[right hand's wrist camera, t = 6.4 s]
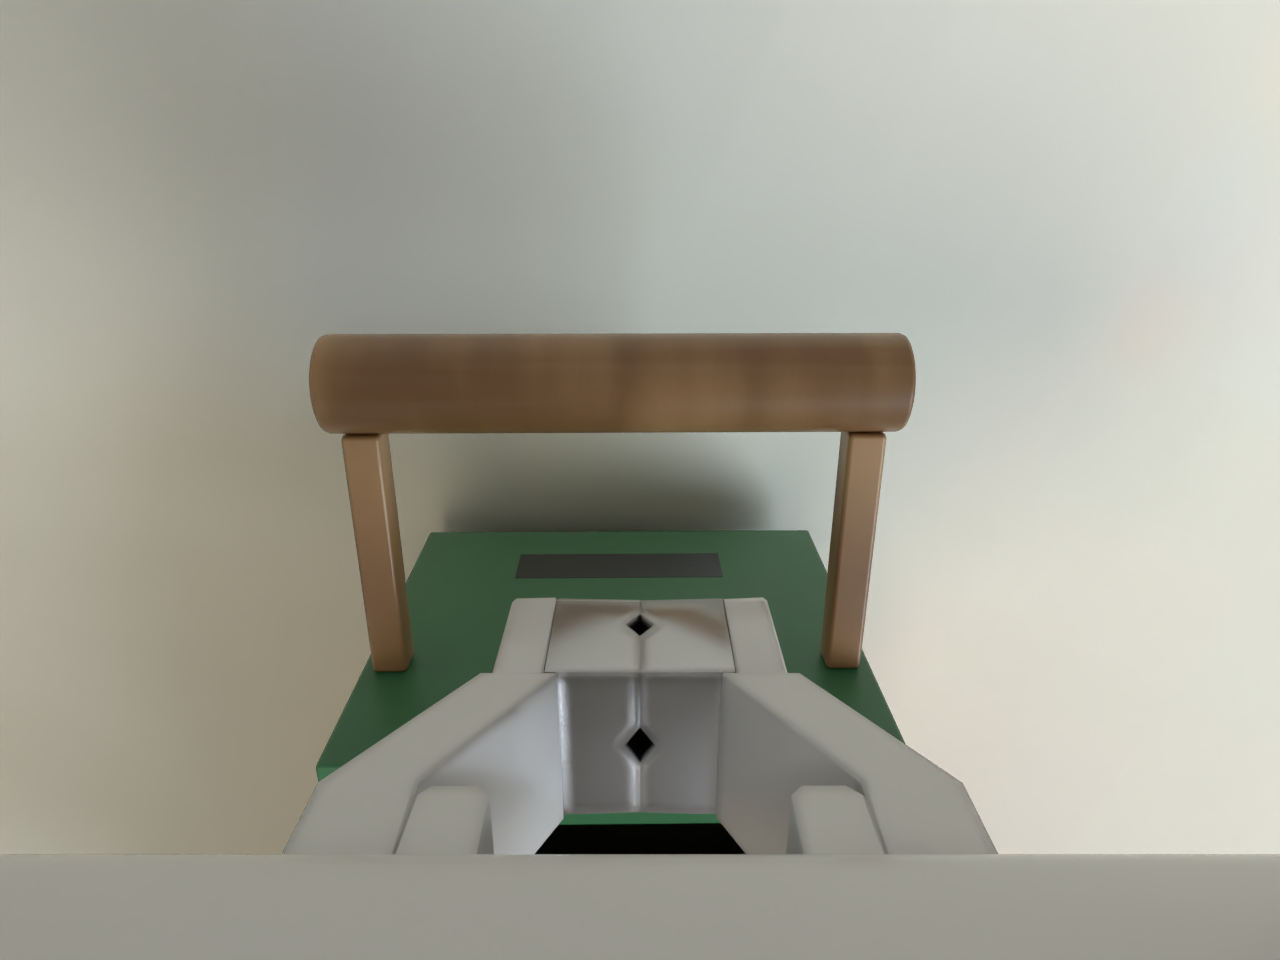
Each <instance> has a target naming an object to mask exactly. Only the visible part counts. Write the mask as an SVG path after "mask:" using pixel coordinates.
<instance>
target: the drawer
mask: <svg viewBox="0 0 1280 960" xmlns="http://www.w3.org/2000/svg"><path fill="white" fill-rule="evenodd" d="M915 385H916V371H915V361H914V355H913V351H912V347H911V344H910V342H909V340H908V339H907V337H906V336H904V335H902V334H900V333H710V334H326V335H324V336H322V337H320V338H319V339H318V340H317V342H316V344H315V346H314V348H313V352H312V356H311V362H310V371H309V386H310V396H311V402H312V406H313V411H314V414H315V417H316V419H317V421H318V423H319V425H320V427H321V428H322V429H323V430H324V431H326V432H328V433H331V434H345V435H344V436H343V437H342V440H341V441H342V448H343V455H344V463H345V470H346V477H347V484H348V491H349V498H350V505H351V513H352V520H353V527H354V534H355V541H356V548H357V555H358V563H359V570H360V577H361V584H362V591H363V598H364V605H365V613H366V620H367V627H368V634H369V641H370V648H371V655H370V657H369V659H368V661H367V663H366V665H365V668H364V670H363V672H362V674H361V676H360V678H359V680H358V682H357V684H356V686H355V688H354V690H353V692H352V694H351V696H350V698H349V700H348V702H347V704H346V706H345V708H344V710H343V712H342V714H341V716H340V718H339V720H338V723H337V725H336V727H335V729H334V731H333V733H332V735H331V737H330V739H329V741H328V743H327V745H326V747H325V749H324V751H323V753H322V755H321V757H320V759H319V761H318V763H317V766H316V771H317V776H318V782H319V781H321V780H322V779H324V778H325V777H327V776H328V775H330V774H331V773H333V772H334V771H336V770H337V769H339V768H340V767H341V766H343V765H344V764H346V763H347V762H349V761H350V760H352V759H353V758H355V757H356V756H358V755H359V754H361V753H362V752H364V751H365V750H367V749H368V748H370V747H371V746H373V745H374V744H376V743H377V742H379V741H380V740H382V739H383V738H385V737H386V736H388V735H389V734H391V733H392V732H394V731H395V730H397V729H398V728H400V727H401V726H403V725H404V724H406V723H407V722H409V721H410V720H412V719H413V718H414V717H416V716H417V715H419V714H420V713H422V712H423V711H425V710H426V709H428V708H429V707H431V706H432V705H434V704H435V703H437V702H438V701H440V700H441V699H443V698H444V697H446V696H447V695H449V694H450V693H452V692H453V691H455V690H456V689H458V688H459V687H461V686H462V685H464V684H465V683H467V682H468V681H470V680H471V679H473V678H474V677H476V676H477V675H479V674H480V673H493V669H494V666H495V662H496V659H497V655H498V651H499V648H500V644H501V641H502V637H503V634H504V630H505V626H506V623H507V619H508V616H509V612H510V608H511V605H512V602H513V601H514V600H515V599H517V598H556V599H557V600H558V599H559V598H566V599H619V600H678V599H719V598H722V599H735V598H758V597H763V598H764V599H766V600H767V602H768V606H769V609H770V613H771V616H772V620H773V623H774V627H775V631H776V634H777V638H778V641H779V645H780V648H781V652H782V655H783V659H784V662H785V666H786V669H787V673H800V674H802V675H803V676H804V677H806V678H807V679H809V680H810V681H812V682H813V683H815V684H816V685H818V686H819V687H821V688H822V689H824V690H825V691H827V692H828V693H830V694H831V695H833V696H834V697H836V698H837V699H839V700H840V701H842V702H843V703H845V704H846V705H847V706H849V707H850V708H852V709H853V710H855V711H856V712H858V713H859V714H861V715H862V716H864V717H865V718H867V719H868V720H870V721H871V722H873V723H874V724H876V725H877V726H879V727H880V728H882V729H883V730H885V731H886V732H888V733H889V734H890V735H892V736H893V737H895V738H896V739H898V740H899V741H901V742H902V743H904V744H905V742H904V740H903V738H902V736H901V733H900V731H899V729H898V727H897V725H896V722H895V720H894V718H893V716H892V714H891V712H890V709H889V707H888V705H887V703H886V701H885V698H884V696H883V694H882V692H881V690H880V687H879V685H878V683H877V681H876V679H875V677H874V674H873V672H872V670H871V668H870V666H869V663H868V661H867V659H866V657H865V655H864V652H863V650H862V641H863V632H864V624H865V615H866V607H867V598H868V590H869V581H870V573H871V564H872V556H873V547H874V539H875V530H876V522H877V513H878V505H879V496H880V488H881V479H882V471H883V462H884V453H885V445H886V436H885V434H884V433H883V432H896V431H898V430H901V429H902V428H904V426H905V425H906V423H907V422H908V419H909V417H910V414H911V410H912V407H913V402H914V396H915ZM635 432H841V439H840V449H839V459H838V470H837V480H836V491H835V501H834V512H833V522H832V533H831V543H830V553H829V564H828V574H827V571H826V569H825V567H824V565H823V563H822V561H821V558H820V556H819V554H818V552H817V550H816V547H815V545H814V543H813V541H812V539H811V536H810V534H809V532H808V531H806V530H798V531H616V532H433V533H430V535H429V537H428V539H427V541H426V543H425V545H424V547H423V549H422V551H421V553H420V555H419V558H418V560H417V562H416V564H415V566H414V568H413V570H412V572H411V574H410V576H409V578H408V580H407V582H405V573H404V565H403V556H402V548H401V539H400V531H399V522H398V514H397V505H396V497H395V488H394V480H393V471H392V463H391V454H390V446H389V437H388V433H635ZM905 745H906V744H905ZM563 818H564V819H563V820H562V821H561V822H560V823H559V825H558V826H557V827H556V828H555V830H554V831H553V832H552V833H551V834H550V836H549V837H548V838H547V839H546V841H545V842H544V843H543V844H542V846H541V847H540V848H539V849H538V850H537V852H536V853H535V854H746V853H745V852H744V851H743V850H742V848H741V847H740V846H739V845H738V844H737V842H736V841H735V840H734V839H733V837H732V836H731V835H730V834H729V832H728V831H727V830H726V829H725V828H724V826H723V825H722V824H721V823H720V821H719V820H718V819H717V814H684V813H647V812H630V813H595V814H563Z"/></svg>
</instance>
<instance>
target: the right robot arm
mask: <svg viewBox="0 0 1280 960" xmlns="http://www.w3.org/2000/svg"><path fill="white" fill-rule="evenodd" d="M630 812H647V813H684V814H717V819H718V820H719V821H720V823H721V824H722V825H723V826H724V828H725V829H726V830H727V831H728V832H729V834H730V835H731V836H732V837H733V839H734V840H735V841H736V842H737V844H738V845H739V846H740V847H741V848H742V850H743V851H744V852H745V853H746V854H535V853H536V852H537V850H538V849H539V848H540V847H541V846H542V844H543V843H544V842H545V841H546V839H547V838H548V837H549V836H550V834H551V833H552V832H553V831H554V830H555V828H556V827H557V826H558V825H559V823H560V822H561V821H562V820H563V819H564V818H563V814H595V813H630ZM0 960H1280V854H998V853H997V851H996V849H995V847H994V845H993V843H992V841H991V839H990V837H989V835H988V833H987V831H986V829H985V827H984V825H983V823H982V821H981V819H980V817H979V815H978V813H977V811H976V809H975V807H974V805H973V803H972V801H971V799H970V797H969V795H968V793H967V791H966V789H965V787H964V785H963V783H962V782H960V781H959V780H957V779H956V778H954V777H953V776H951V775H950V774H948V773H947V772H945V771H944V770H942V769H941V768H939V767H938V766H936V765H935V764H933V763H932V762H931V761H929V760H928V759H926V758H925V757H923V756H922V755H920V754H919V753H917V752H916V751H914V750H913V749H911V748H910V747H908V746H907V745H905V744H904V743H902V742H901V741H899V740H898V739H896V738H895V737H893V736H892V735H890V734H889V733H888V732H886V731H885V730H883V729H882V728H880V727H879V726H877V725H876V724H874V723H873V722H871V721H870V720H868V719H867V718H865V717H864V716H862V715H861V714H859V713H858V712H856V711H855V710H853V709H852V708H850V707H849V706H847V705H846V704H845V703H843V702H842V701H840V700H839V699H837V698H836V697H834V696H833V695H831V694H830V693H828V692H827V691H825V690H824V689H822V688H821V687H819V686H818V685H816V684H815V683H813V682H812V681H810V680H809V679H807V678H806V677H804V676H803V675H802V674H800V673H787V669H786V666H785V662H784V659H783V655H782V652H781V648H780V645H779V641H778V638H777V634H776V631H775V627H774V623H773V620H772V616H771V613H770V609H769V606H768V602H767V600H766V599H764V598H763V597H758V598H735V599H722V598H719V599H678V600H619V599H566V598H559V599H558V600H557V599H556V598H517V599H515V600H514V601H513V602H512V605H511V608H510V612H509V616H508V619H507V623H506V626H505V630H504V634H503V637H502V641H501V644H500V648H499V651H498V655H497V659H496V662H495V666H494V669H493V673H480V674H479V675H477V676H476V677H474V678H473V679H471V680H470V681H468V682H467V683H465V684H464V685H462V686H461V687H459V688H458V689H456V690H455V691H453V692H452V693H450V694H449V695H447V696H446V697H444V698H443V699H441V700H440V701H438V702H437V703H435V704H434V705H432V706H431V707H429V708H428V709H426V710H425V711H423V712H422V713H420V714H419V715H417V716H416V717H414V718H413V719H412V720H410V721H409V722H407V723H406V724H404V725H403V726H401V727H400V728H398V729H397V730H395V731H394V732H392V733H391V734H389V735H388V736H386V737H385V738H383V739H382V740H380V741H379V742H377V743H376V744H374V745H373V746H371V747H370V748H368V749H367V750H365V751H364V752H362V753H361V754H359V755H358V756H356V757H355V758H353V759H352V760H350V761H349V762H347V763H346V764H344V765H343V766H341V767H340V768H339V769H337V770H336V771H334V772H333V773H331V774H330V775H328V776H327V777H325V778H324V779H322V780H321V781H319V782H318V784H317V786H316V788H315V790H314V792H313V794H312V795H311V797H310V799H309V801H308V803H307V805H306V807H305V809H304V811H303V813H302V815H301V817H300V819H299V821H298V823H297V825H296V827H295V829H294V831H293V833H292V835H291V837H290V839H289V841H288V843H287V845H286V847H285V849H284V851H283V853H282V854H0Z"/></svg>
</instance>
